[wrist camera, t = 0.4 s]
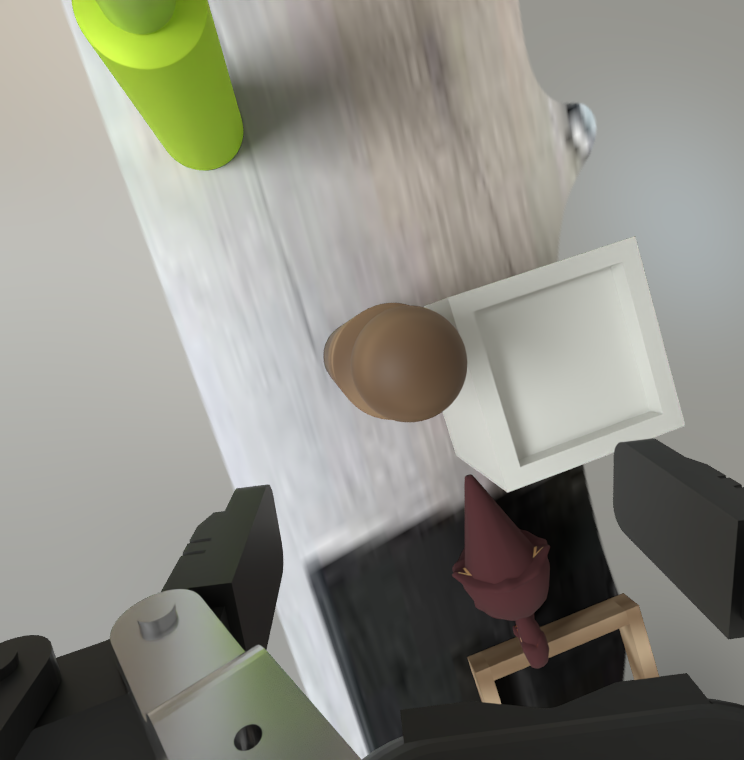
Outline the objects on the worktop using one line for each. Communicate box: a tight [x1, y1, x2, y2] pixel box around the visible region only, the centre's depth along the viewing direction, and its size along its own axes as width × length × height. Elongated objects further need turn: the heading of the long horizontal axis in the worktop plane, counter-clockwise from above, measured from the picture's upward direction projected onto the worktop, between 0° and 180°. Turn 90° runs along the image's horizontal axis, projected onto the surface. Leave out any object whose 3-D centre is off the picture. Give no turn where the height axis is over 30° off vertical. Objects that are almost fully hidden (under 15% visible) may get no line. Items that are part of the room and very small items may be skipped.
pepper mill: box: [324, 303, 467, 422], centre depth 27 cm, size 5×5×22 cm
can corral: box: [467, 593, 659, 704], centre depth 41 cm, size 13×14×2 cm
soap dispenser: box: [72, 0, 243, 170], centre depth 25 cm, size 6×7×20 cm
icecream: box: [452, 475, 550, 668], centre depth 37 cm, size 7×8×15 cm
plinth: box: [423, 236, 685, 493], centre depth 34 cm, size 12×12×10 cm
